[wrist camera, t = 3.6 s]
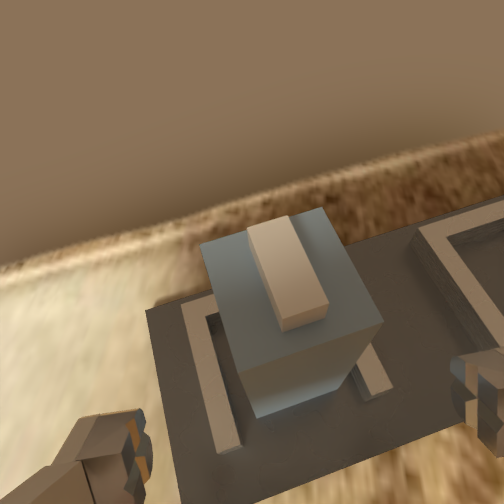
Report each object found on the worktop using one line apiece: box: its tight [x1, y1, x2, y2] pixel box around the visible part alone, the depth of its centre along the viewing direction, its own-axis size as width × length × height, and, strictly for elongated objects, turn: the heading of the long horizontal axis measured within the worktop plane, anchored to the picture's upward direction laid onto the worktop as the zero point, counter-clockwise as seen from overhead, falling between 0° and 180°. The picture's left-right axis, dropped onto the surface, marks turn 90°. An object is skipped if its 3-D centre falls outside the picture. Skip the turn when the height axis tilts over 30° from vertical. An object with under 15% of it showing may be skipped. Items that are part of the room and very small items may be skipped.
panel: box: [145, 195, 504, 504], centre depth 19 cm, size 25×10×2 cm, turn 108°
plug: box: [199, 207, 384, 418], centre depth 14 cm, size 4×4×10 cm
